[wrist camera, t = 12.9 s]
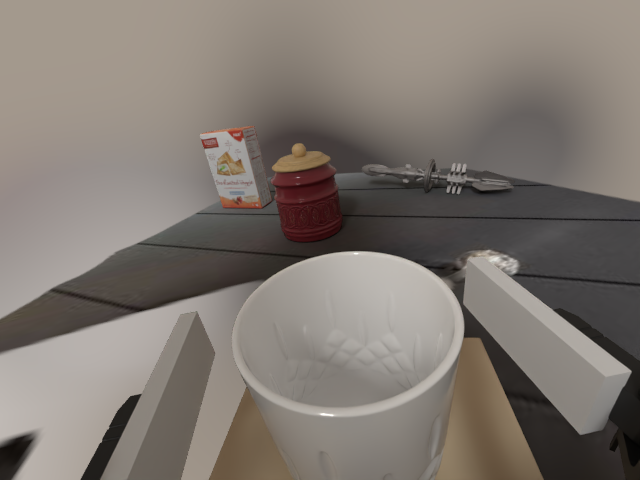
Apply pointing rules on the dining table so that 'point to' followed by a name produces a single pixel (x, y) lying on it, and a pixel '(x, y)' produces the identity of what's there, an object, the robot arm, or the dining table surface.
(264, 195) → the cracker box
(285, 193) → the canister
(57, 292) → the dining table surface
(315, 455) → the white cup
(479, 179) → the spaceship
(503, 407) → the riser block
